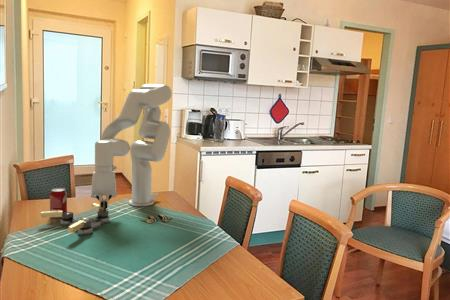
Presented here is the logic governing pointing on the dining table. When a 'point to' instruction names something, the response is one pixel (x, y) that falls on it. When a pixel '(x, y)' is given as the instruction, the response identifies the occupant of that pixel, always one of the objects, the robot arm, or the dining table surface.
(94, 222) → the tribrach
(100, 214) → the knob
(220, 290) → the dining table surface
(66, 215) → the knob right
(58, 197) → the soda can
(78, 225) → the knob
